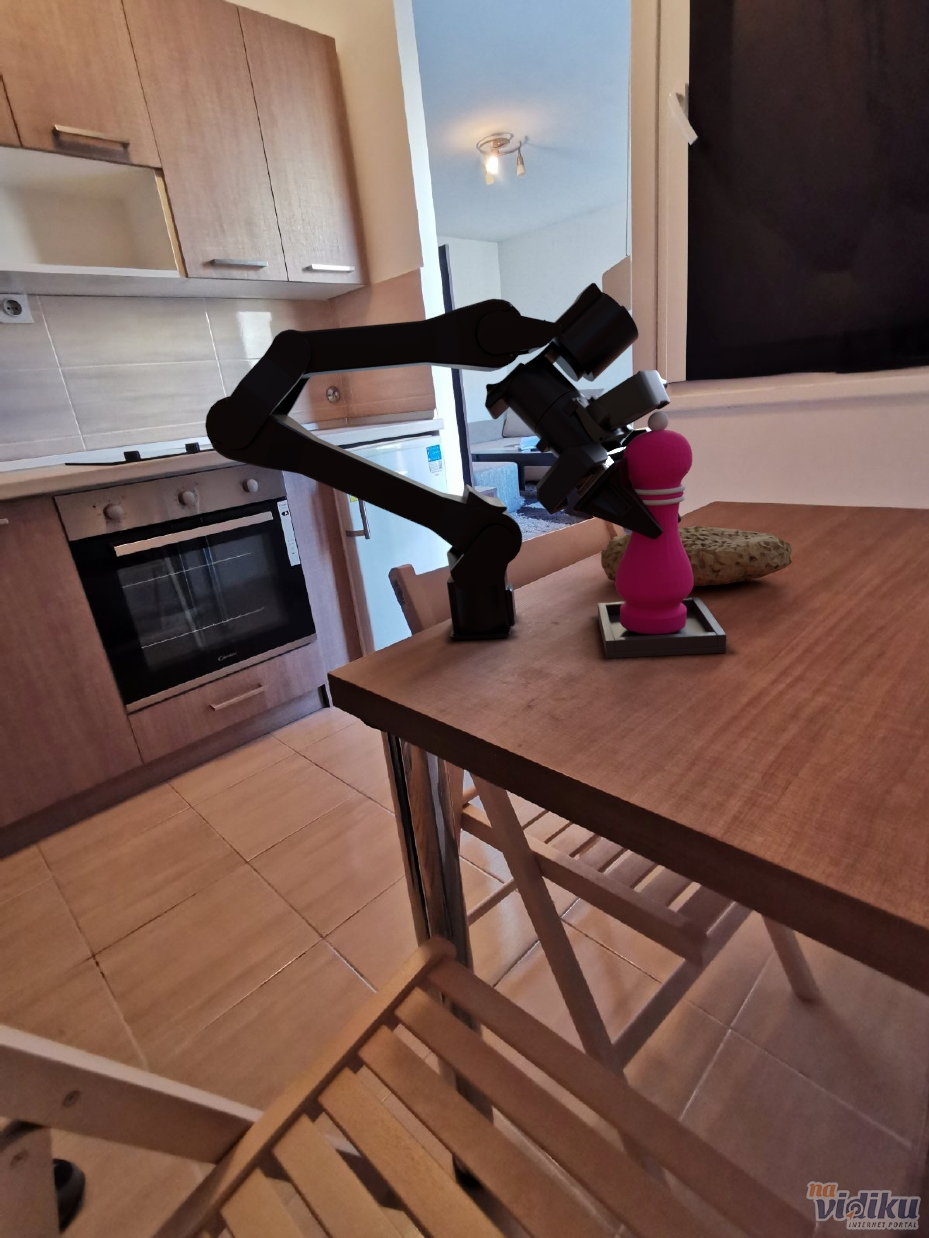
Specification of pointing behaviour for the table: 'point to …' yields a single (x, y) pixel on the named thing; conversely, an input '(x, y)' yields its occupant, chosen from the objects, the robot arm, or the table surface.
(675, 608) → the pepper mill
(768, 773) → the table surface
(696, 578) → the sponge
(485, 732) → the table surface
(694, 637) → the shallow square tray
